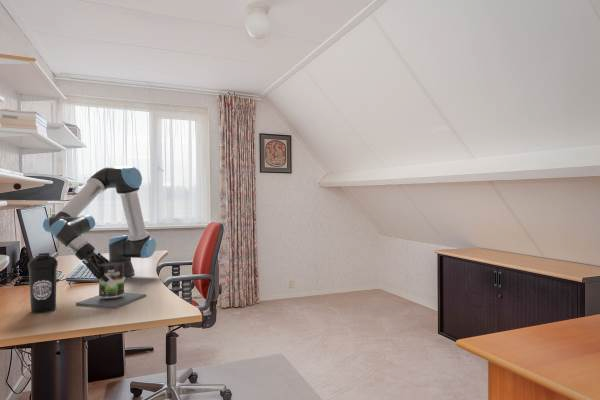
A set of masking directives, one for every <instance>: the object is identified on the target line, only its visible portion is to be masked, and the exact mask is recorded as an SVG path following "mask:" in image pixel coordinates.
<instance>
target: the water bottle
mask: <svg viewBox="0 0 600 400" xmlns="http://www.w3.org/2000/svg"><path fill="white" fill-rule="evenodd" d="M58 265H59V264H58V260H57V258H56V257H54V256H51V255H50V252H41V253H38V254H37V255H35V257H33V258H31V259H30V260H28V262H27V269H28V275H29V276H28V277H29V278H28V279H29V298H30V312H31V314H45V313H49V312H53V311H55V310H56V309H57V271H58V269H57V267H58Z"/></svg>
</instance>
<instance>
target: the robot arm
mask: <svg viewBox="0 0 600 400" xmlns="http://www.w3.org/2000/svg"><path fill="white" fill-rule="evenodd" d="M142 183H143V176H142V174H141V171H140V170H139V169H138V168H137V167H135V166H130V165H125V166H123V165H120V166H107V167H104V168H101V169H100V170H98V171H96V172H95V173H94V174H93V175H91V176H90V177H89V178H88V179H87V181H86V184H85V185H84V186H83V187H82V188H81V189H80V190H79V191H78V192H77V193H76V195H74V196H73V197H72V198H71V199H70V200H69V201H68V202H67V203H66V204H65V205H64V206H63V207H61V209H60V211H58V213H56V214H55V215H54V216H48V217H46V218H45V219H44V220H43V223H42V228H43V229H44V231H45V232H46V233H51V235H52V236H54V238H56V240H58V241H59V242H60V243H61V244H62V245H64V246H65V248H66V249H68V251H69V252H71V253H72V254H73V255H74V256H75V257H76V258H77V259H78V260H80V261H81V262H82V263H83V264H84V265H85V266H86V267H87V269H88V270H89V271H90V272H91V274H92V275H93V276H94V277H95V278H96V279H97V280H99V278H101V279H102V280H103V281H104V282H105V283H106V284H107V285H109V286H110V287H111V288H113V287H114V286H115V285H116V284H117V283H116V282H115V281H114V280H113V279H112V278H110V277H109V276H108V275H107V274H106V273H105V274H104V272H103V271H102V269H101V267H100V266H99V264H102V263H108V262H123V263H124V281H125V280H126V277H132V276H133V275H136V274H135V269H134V266H133V263H132V259H133V258H136V259H149V258H151V257H152V256H153V255H154V254H155V251H156V245H157V243H156V242H157V241H156V239H155V238H153V237H151V236H150V232H149V231H147V230H146V226H145V222H144V217H143V212H142V208H141V204H140V200H139V195H138V194H139V193H138V192H139V191H140V187H141V186H142ZM108 189H115V192H116V194H118V195H120V199H121V203H122V207H123V211H124V216H125V220H126V224H127V229H128V232H129V233H128V234H126V235H125V234H123V235H119V236H118V235H117V236H112V237H110V238H109V239H108V259H107V257H105V256H104V255H103V254H102V253H100V252H98V253H95V252H94V251H95V249H96V248H95V246H93V245H92V244H91V243H90V242H89V240H87V239H86V238H85V237H84V236H82V235H84V234H85V233H87V232H90V231H92V229H95V226H96V220H95V218H94V217H93V216H92V215H90V214H83V215H81V213H82V212H83V211H85V209H86V208H88V206H89V205H90V204H91V203H92V201H94V200H95V199H96V197H98V195H99V194H102V193H104V192H105V191H106V190H108Z"/></svg>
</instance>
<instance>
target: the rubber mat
mask: <svg viewBox="0 0 600 400" xmlns="http://www.w3.org/2000/svg"><path fill="white" fill-rule="evenodd" d="M145 297H147V293H137V292H125V291H124V295H123V296H120V297H116V298H100V297H99V294H98V295H94V296H93V297H90V298H87V299H83V300H80V301H77V302H75V306H82V307H94V308H103V309H105V308H106V309H117V308H120V307H123V306H125V305H127V304H130V303H132V302H133V303H134V302H136V301H137V300H140V299H142V298H145Z"/></svg>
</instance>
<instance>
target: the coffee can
mask: <svg viewBox="0 0 600 400" xmlns="http://www.w3.org/2000/svg"><path fill="white" fill-rule="evenodd" d="M99 266H100V267H101V269H102V271H103V272H104V274H105V273H106V274H107V275H108V276H109V277H110V278H112V279H113V280H114V281H115V282H116V283H117V284H116V285H115V286H114V287H113V288H111V287H110V286H109V285H107V284H106V283H105V282H104V281H103V280H102V279H101V278H99V279H98V295H99V297H100V298H116V297H120V296H123V295H124V292H125V280H124V263H123V262H108V263H102V264H99Z"/></svg>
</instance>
